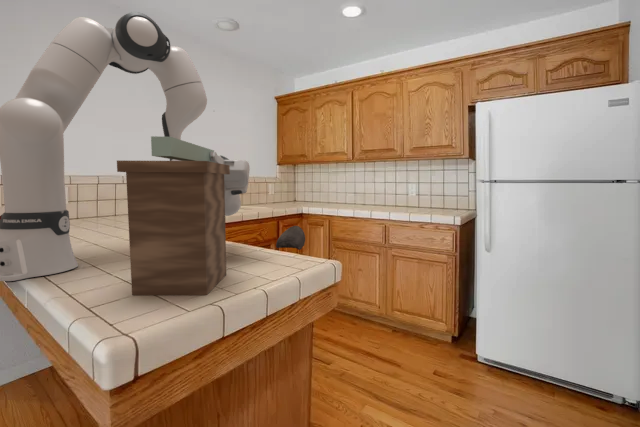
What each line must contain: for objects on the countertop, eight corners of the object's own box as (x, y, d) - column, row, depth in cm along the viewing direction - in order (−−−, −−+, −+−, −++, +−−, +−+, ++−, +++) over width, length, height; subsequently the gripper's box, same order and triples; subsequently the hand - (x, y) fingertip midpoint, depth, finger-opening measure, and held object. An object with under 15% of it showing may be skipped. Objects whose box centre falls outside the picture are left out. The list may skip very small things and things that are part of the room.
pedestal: (210, 296, 62) (206, 160, 60) (123, 296, 62) (116, 160, 60) (231, 273, 78) (229, 165, 76) (162, 273, 78) (158, 165, 76)
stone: (282, 262, 105) (305, 242, 102) (267, 242, 107) (288, 221, 105) (296, 260, 114) (316, 241, 112) (281, 241, 116) (301, 222, 114)
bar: (170, 156, 60) (170, 136, 59) (151, 155, 60) (151, 136, 59) (214, 164, 85) (214, 150, 85) (201, 163, 85) (200, 150, 85)
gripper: (181, 172, 95) (161, 142, 82) (254, 173, 95) (245, 143, 82) (177, 192, 92) (156, 164, 80) (252, 193, 92) (242, 165, 80)
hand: (202, 154), depth 81 cm, fingers closed on bar, 3 cm apart
